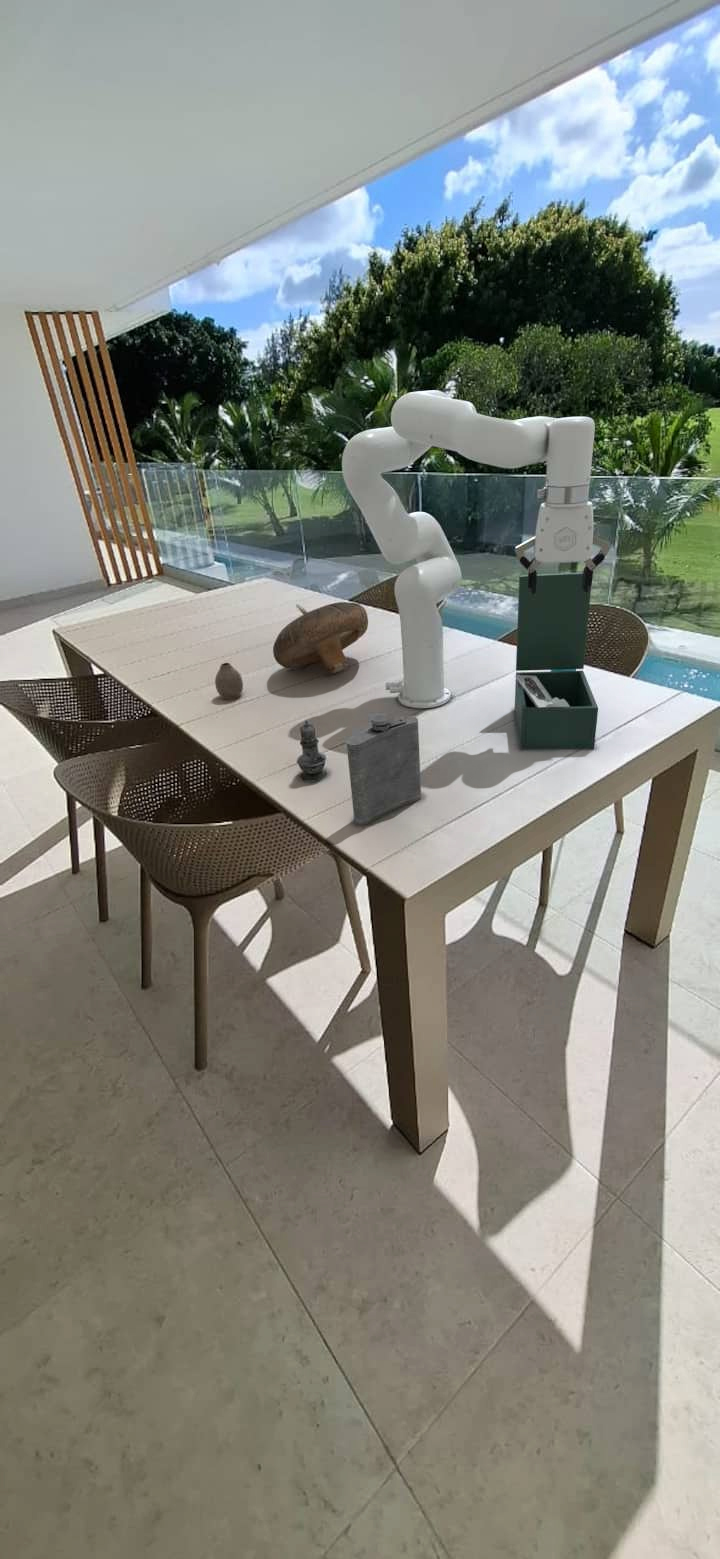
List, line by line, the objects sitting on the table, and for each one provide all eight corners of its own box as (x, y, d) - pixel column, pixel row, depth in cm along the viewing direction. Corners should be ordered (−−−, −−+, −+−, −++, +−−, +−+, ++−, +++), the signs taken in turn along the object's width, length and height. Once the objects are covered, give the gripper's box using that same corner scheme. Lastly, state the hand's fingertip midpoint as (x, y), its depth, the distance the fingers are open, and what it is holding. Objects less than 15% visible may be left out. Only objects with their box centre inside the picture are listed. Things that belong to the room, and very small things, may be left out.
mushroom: (324, 648, 202) (353, 574, 188) (365, 694, 190) (399, 618, 176) (243, 648, 185) (267, 566, 170) (282, 699, 173) (312, 615, 158)
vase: (250, 692, 174) (244, 660, 170) (235, 703, 169) (228, 670, 165) (228, 690, 177) (222, 658, 173) (212, 700, 172) (206, 668, 167)
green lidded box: (594, 748, 133) (598, 707, 129) (520, 749, 135) (522, 709, 131) (579, 707, 150) (583, 670, 146) (514, 709, 152) (515, 672, 148)
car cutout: (572, 730, 139) (587, 716, 136) (552, 731, 135) (567, 716, 132) (534, 677, 145) (548, 662, 142) (514, 676, 141) (528, 661, 138)
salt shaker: (298, 769, 136) (291, 715, 130) (327, 766, 136) (321, 712, 130) (298, 783, 131) (290, 728, 125) (328, 780, 131) (322, 725, 125)
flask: (348, 818, 119) (338, 726, 110) (411, 790, 125) (407, 701, 116) (360, 827, 116) (351, 733, 107) (424, 797, 123) (420, 707, 114)
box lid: (592, 572, 134) (588, 566, 139) (519, 576, 137) (517, 569, 141) (583, 669, 145) (580, 660, 150) (516, 671, 147) (514, 661, 152)
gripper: (518, 501, 118) (513, 598, 127) (621, 495, 115) (609, 595, 124) (515, 494, 124) (511, 587, 133) (613, 489, 122) (602, 584, 130)
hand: (558, 591), depth 129 cm, fingers open, 9 cm apart
